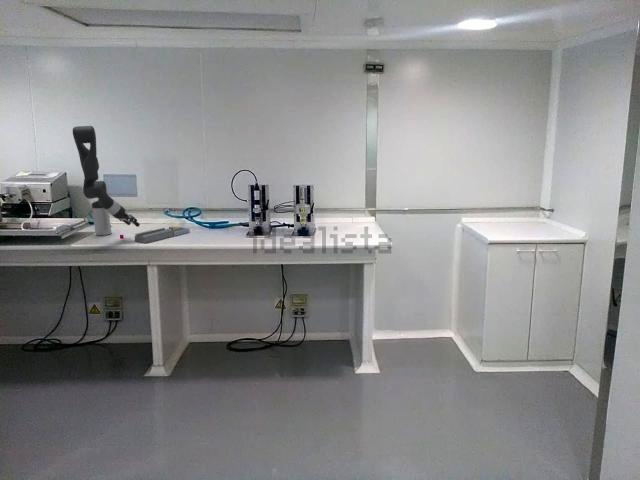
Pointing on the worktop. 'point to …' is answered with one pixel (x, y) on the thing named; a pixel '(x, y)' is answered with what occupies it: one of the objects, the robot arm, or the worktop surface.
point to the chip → (173, 228)
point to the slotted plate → (153, 235)
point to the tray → (181, 231)
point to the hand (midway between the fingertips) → (134, 224)
